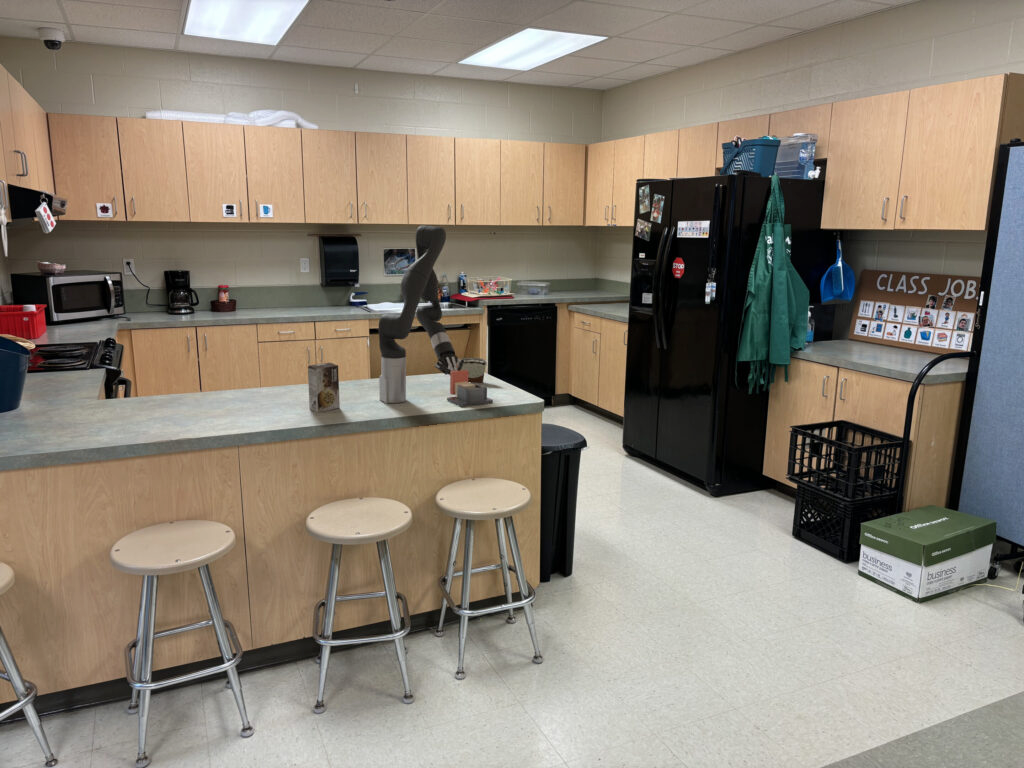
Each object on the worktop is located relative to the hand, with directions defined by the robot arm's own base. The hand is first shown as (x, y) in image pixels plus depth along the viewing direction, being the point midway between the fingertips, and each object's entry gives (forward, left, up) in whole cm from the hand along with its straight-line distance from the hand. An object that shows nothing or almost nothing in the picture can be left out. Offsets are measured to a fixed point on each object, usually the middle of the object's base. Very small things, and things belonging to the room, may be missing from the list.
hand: (457, 381), depth 280 cm
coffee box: (-52, +6, -6) cm, 53 cm away
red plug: (0, -5, -4) cm, 7 cm away
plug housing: (0, -10, -6) cm, 12 cm away
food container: (+19, +19, -6) cm, 28 cm away
